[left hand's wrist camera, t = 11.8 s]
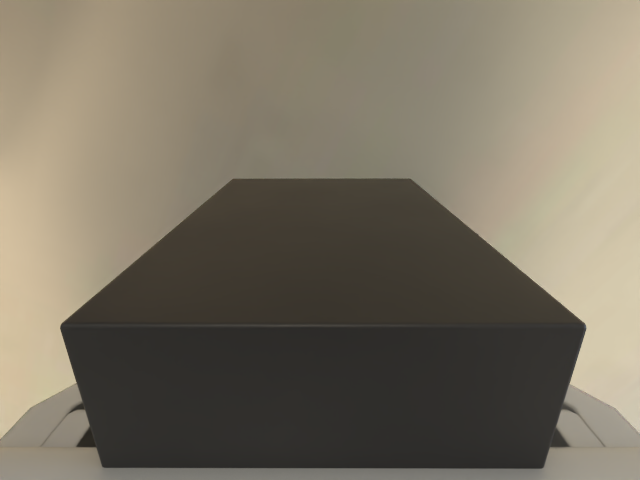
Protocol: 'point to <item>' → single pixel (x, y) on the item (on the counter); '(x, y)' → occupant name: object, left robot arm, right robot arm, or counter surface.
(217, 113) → the counter surface
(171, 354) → the box
